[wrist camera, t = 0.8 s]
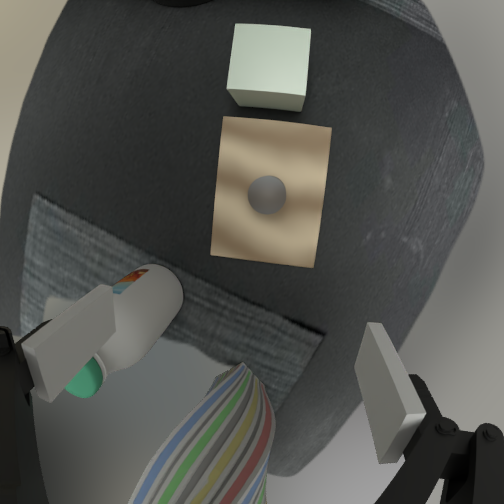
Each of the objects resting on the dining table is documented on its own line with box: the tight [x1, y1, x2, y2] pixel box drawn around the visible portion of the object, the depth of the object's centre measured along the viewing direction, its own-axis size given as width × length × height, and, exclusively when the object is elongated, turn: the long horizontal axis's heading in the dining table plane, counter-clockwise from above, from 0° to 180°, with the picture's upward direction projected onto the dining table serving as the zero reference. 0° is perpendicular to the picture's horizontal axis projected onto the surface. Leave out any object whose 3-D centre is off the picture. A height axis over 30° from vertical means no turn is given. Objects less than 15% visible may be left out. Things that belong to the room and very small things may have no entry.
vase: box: [128, 362, 275, 504], centre depth 28 cm, size 14×14×30 cm
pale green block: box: [227, 24, 311, 112], centre depth 28 cm, size 7×7×8 cm
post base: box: [211, 116, 332, 268], centre depth 33 cm, size 16×12×6 cm
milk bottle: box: [65, 264, 183, 398], centre depth 30 cm, size 8×8×20 cm
